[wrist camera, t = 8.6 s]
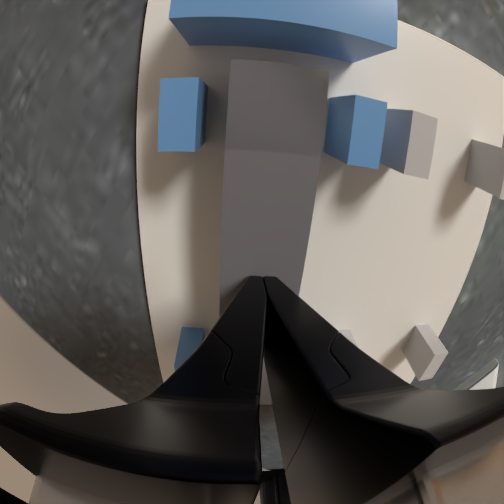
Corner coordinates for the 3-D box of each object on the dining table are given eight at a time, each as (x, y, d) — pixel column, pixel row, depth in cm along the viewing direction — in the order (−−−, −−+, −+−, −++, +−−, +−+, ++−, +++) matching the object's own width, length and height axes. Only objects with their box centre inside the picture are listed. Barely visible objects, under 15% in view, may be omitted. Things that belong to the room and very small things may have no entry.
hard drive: (427, 417, 19) (439, 444, 23) (500, 364, 17) (493, 406, 21) (420, 404, 20) (434, 434, 25) (491, 352, 18) (488, 397, 23)
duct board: (405, 383, 17) (424, 422, 14) (167, 392, 16) (159, 441, 13) (501, 78, 8) (553, 84, 5) (152, -6, 7) (119, -46, 4)
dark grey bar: (269, 365, 14) (274, 404, 12) (221, 364, 14) (219, 404, 12) (307, 79, 8) (329, 70, 6) (232, 72, 8) (231, 59, 6)
